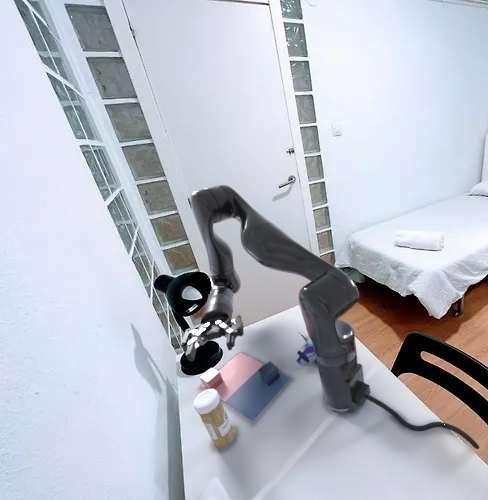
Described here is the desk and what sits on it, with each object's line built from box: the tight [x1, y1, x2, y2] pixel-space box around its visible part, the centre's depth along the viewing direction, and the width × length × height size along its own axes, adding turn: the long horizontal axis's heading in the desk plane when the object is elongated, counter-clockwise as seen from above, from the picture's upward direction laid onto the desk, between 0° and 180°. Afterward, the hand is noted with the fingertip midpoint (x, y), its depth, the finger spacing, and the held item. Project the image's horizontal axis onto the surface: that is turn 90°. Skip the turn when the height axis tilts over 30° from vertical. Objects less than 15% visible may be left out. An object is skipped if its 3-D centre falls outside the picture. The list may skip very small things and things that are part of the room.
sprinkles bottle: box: [193, 389, 236, 449], centre depth 59 cm, size 5×5×14 cm
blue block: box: [258, 360, 280, 386], centre depth 73 cm, size 4×4×4 cm
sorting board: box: [200, 351, 291, 422], centre depth 74 cm, size 21×13×1 cm, turn 58°
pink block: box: [199, 367, 223, 389], centre depth 74 cm, size 4×4×4 cm
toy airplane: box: [295, 331, 317, 365], centre depth 81 cm, size 13×14×4 cm
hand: (210, 352), depth 65 cm, fingers open, 8 cm apart
